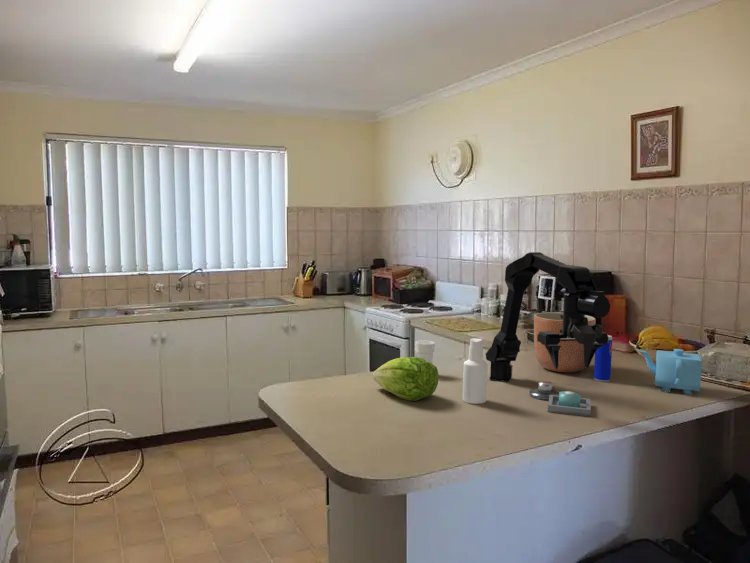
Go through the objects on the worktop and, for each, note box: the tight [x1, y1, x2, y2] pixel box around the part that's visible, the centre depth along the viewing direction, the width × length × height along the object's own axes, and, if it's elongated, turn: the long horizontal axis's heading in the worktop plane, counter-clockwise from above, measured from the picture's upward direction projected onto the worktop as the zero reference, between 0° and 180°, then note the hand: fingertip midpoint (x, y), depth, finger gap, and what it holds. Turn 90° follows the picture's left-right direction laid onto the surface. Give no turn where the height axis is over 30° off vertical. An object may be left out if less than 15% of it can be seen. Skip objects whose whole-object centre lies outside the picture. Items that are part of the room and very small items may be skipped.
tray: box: [547, 395, 592, 418], centre depth 164 cm, size 11×11×2 cm
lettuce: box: [372, 356, 439, 402], centre depth 174 cm, size 13×22×14 cm
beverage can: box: [593, 334, 613, 383], centre depth 195 cm, size 5×5×15 cm
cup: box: [414, 340, 436, 364], centre depth 199 cm, size 7×7×11 cm
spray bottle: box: [462, 337, 489, 405], centre depth 169 cm, size 7×7×18 cm
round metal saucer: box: [528, 380, 560, 401], centre depth 176 cm, size 9×9×4 cm
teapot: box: [637, 348, 703, 395], centre depth 186 cm, size 18×16×13 cm
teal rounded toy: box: [559, 390, 581, 408], centre depth 163 cm, size 7×6×4 cm
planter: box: [533, 311, 596, 374], centre depth 209 cm, size 21×21×19 cm
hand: (571, 368), depth 163 cm, fingers open, 9 cm apart
